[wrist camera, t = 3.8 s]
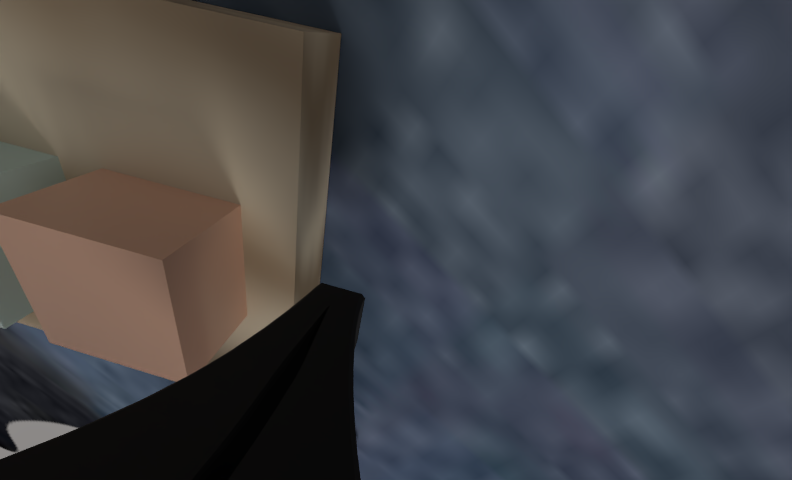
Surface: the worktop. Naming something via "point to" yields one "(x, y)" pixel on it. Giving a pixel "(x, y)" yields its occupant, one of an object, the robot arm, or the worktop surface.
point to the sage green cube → (10, 178)
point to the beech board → (186, 118)
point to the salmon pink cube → (129, 269)
